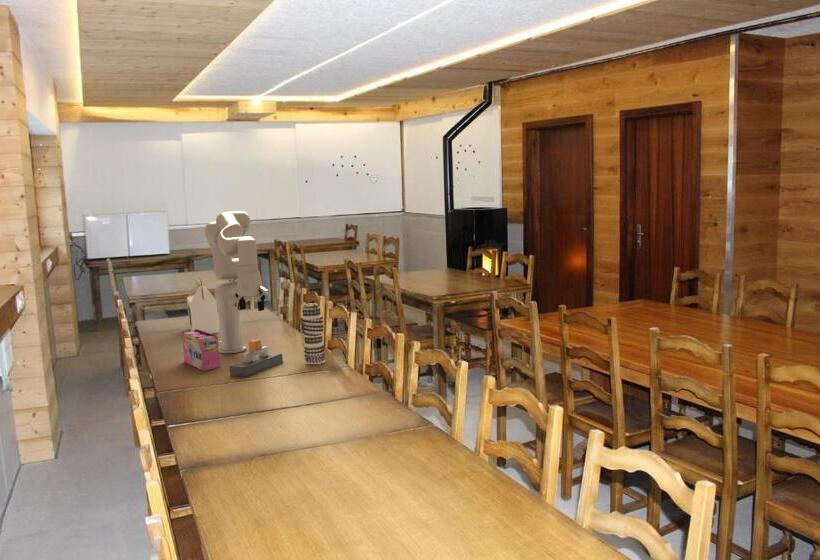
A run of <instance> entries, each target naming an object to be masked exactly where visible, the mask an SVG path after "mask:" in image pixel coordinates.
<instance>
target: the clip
mask: <svg viewBox="0 0 820 560" xmlns="http://www.w3.org/2000/svg"><path fill="white" fill-rule="evenodd" d="M268 352H269V346H268V345H264V346H262V340H261V339H255V338H254V339H251V340H249V341H248V351H247V352H244V353H242V359H243V361H244V363H245V364H251V363H253V357H255V356H258V355H260V358H267V357H268Z"/></svg>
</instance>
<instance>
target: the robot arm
mask: <svg viewBox="0 0 820 560" xmlns="http://www.w3.org/2000/svg"><path fill="white" fill-rule="evenodd" d="M250 227H251V218H250V215H249V214H248V213H247V212H246V211H244V210H236V211H224V212H221V213H219V214H218V215H217V216H216V219H215V221H212V222H209V223H207V224H206V225H205V227H204V234H205V239H206V241H207V243H208V246H209V247H210V249H211V254H212V259H213V265H214V266H213V267H214V273H215V277H216V279H217V280H218V281H231V280H236V281H233V282H226V283H220V284H218V285H216V286H215V288H214V298H215V299H216V301H217V311H218V322H219V333H220V340H218V344H219V354H227V355H228V354H238V353H241V352H245V351H246V350H247V346H246V345H244V344H243V333H242V330H243V329H242V323H241V322H242V321H241V313H240V311H242V310H246V308H247V307H246V306H247V305H246V304H247V302H250V301H253V299H254V298H256V299H257V300H258V301H257V309H258V310H257V311H259V312H262V311H265V301H266V299H267V298H268V294H269V290H268V289H266V287H263V282H262V276H261V273H260V271H259V263H258V251H257V241H256V239H255V238H254V237H252V236H250V235H249V236H245V235H246V234H247V232H248V231H249V229H250ZM234 256H235V257H236V256H237V257H236V258H233V257H234ZM237 303H238V305H239V309H238V307H236V306H235V305H234V304H237Z"/></svg>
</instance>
